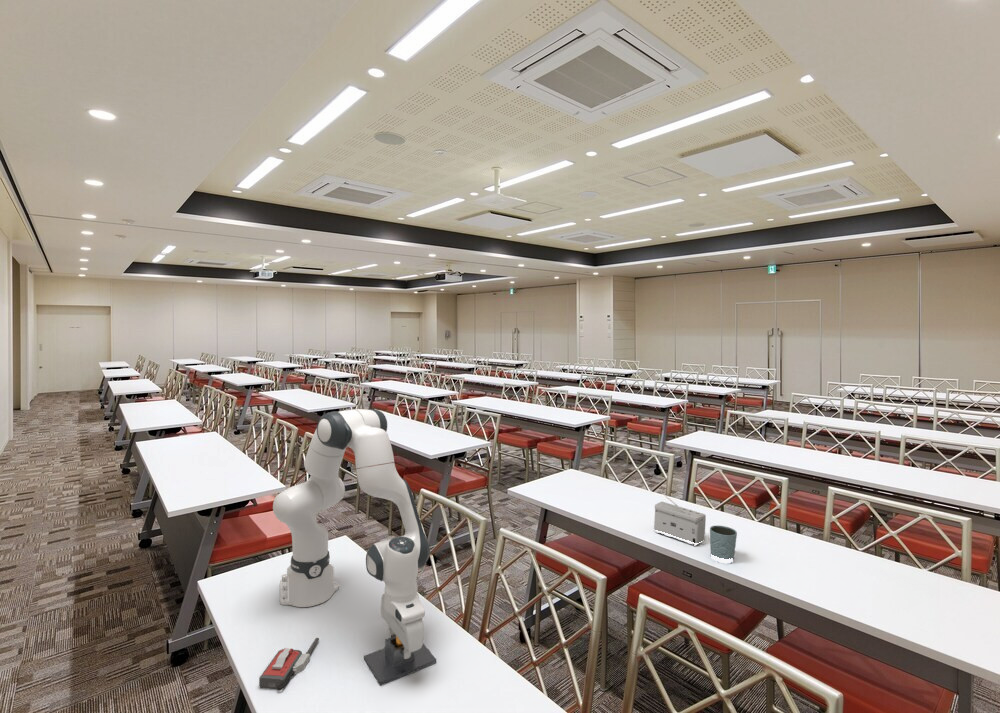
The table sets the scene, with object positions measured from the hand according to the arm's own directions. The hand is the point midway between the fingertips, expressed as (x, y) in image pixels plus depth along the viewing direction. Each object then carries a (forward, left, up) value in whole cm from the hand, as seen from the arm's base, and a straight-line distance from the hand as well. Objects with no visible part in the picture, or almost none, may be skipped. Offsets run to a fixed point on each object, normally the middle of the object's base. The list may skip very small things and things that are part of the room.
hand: (400, 648), depth 136 cm
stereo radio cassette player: (-9, +136, -4) cm, 136 cm away
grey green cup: (+13, +134, -4) cm, 135 cm away
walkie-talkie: (-14, -25, -4) cm, 29 cm away
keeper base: (0, 0, -4) cm, 4 cm away
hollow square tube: (0, 0, -3) cm, 3 cm away
